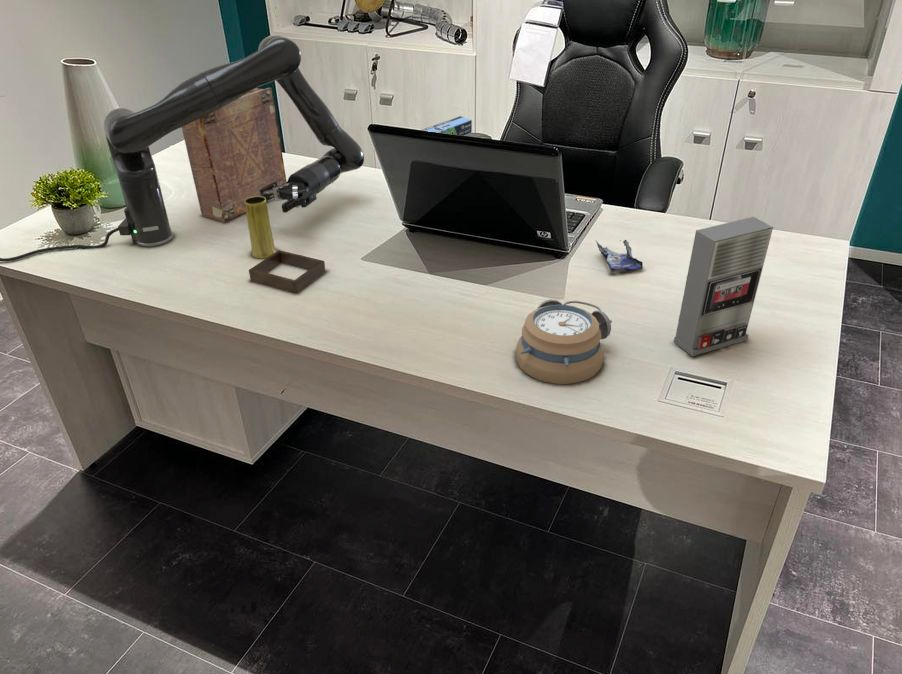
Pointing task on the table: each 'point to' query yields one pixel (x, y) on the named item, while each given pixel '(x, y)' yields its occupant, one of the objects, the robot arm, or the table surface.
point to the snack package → (620, 259)
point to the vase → (259, 227)
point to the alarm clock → (562, 342)
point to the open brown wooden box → (295, 286)
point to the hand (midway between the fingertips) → (269, 206)
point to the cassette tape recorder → (722, 284)
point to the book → (235, 154)
